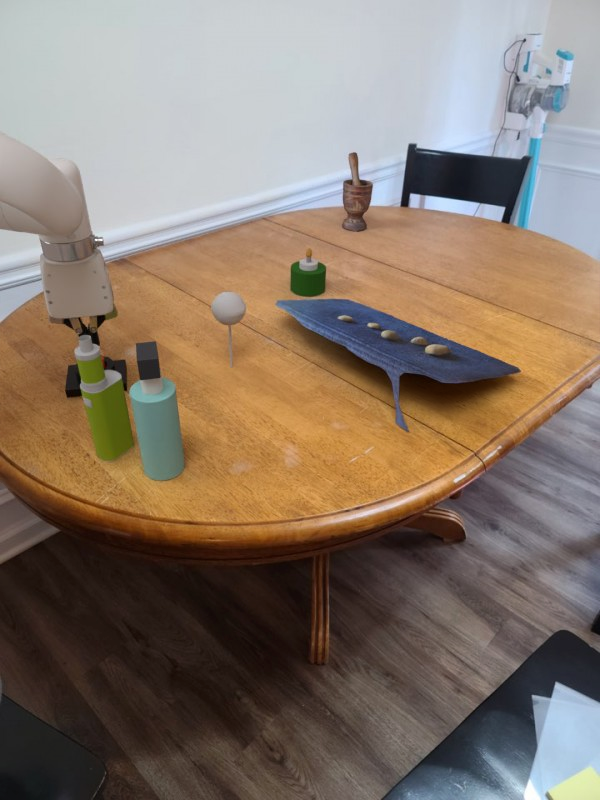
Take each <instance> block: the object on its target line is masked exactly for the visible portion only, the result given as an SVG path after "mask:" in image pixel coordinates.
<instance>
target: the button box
mask: <svg viewBox="0 0 600 800" xmlns="http://www.w3.org/2000/svg"><path fill="white" fill-rule="evenodd" d="M103 356H104V360H105V365H106V366H105V368H104V370H114V371H117V372H119V373H120V374H121V376H122V382H123V387H124V392H127V391H128V367H127V360H126V359H125V358H124V359H116V360H115V359H114V360H113V359H112V358H111V357H109V356H105V355H103ZM80 384H81V376H80V372H79V368H78V364H77V363H76V364H68V365H67V371H66V378H65V385H64V386H65V387H64V392H65V395H66V398H67V399H70V398H78V397H82V392H81V388H80Z"/></svg>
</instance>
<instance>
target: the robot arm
mask: <svg viewBox="0 0 600 800" xmlns="http://www.w3.org/2000/svg"><path fill="white" fill-rule="evenodd" d="M84 190H85V189H84V185H83V179H82V175H81V171H80V169H79V166H78V165H77V163H75V162H74V161H72V160H70V159H67V158H62V157H45V156H44V155H43V154H41V153H40V152H38V151H37V150H35V149H34V148H32V147H31V146H28V145H27V144H25V143H23V142H21V141H20V140H17V139H16V138H14V137H13V136H10V135H8V134H6V133H4V132H2V131H0V230H3V231H8V232H9V231H11V232H17V233H24V234H25V233H26V234H31V235H32V234H33V235H38V238H39V243H40V247H41V250H42V253H41V254H39V255H40V256H39V266H40V267H39V268H40V278H41V285H42V290H43V296H44V302H45V306H46V309H47V313H48V321H49V323H50V324H55V325H64V326H66V327H68V328H69V329H71V330H72V331H74V333H75V334H77V336H78V337H77V338H79V337H80V336H82V335H89V336H91V340H92V344H96V345H98V346H99V347H100V346H101V342H100V337H99V331H98V330H99V328H100V327H101V326H102V325H103V324H104V322H105V321H109V320H112V319H116V318H117V317H118V315H119V311H118V309H117V307H116V305H115V297H114V290H113V285H112V282H111V277H110V274H109V270H108V267H107V264H106V261H105V258H104V255H103V253H102V251H101V249H99V248H100V247H104V246H105V243H104V237H103V236H96V235H95V234H94V233H93V230H92V226H91V219H90V216H89V210H88V205H87V201H86V195H85V191H84ZM86 317H87V318H88V321H89V323H88V324H87V325H86V324H85V323H84V322H83V319H82V318H86Z"/></svg>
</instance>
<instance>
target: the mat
mask: <svg viewBox="0 0 600 800" xmlns="http://www.w3.org/2000/svg"><path fill="white" fill-rule="evenodd" d="M274 305H275V306H276V307H277V308H278V309H281V310H284V311H285V312H286V313H288V314H289V315H291V316H292V317H294V318H295V320H296V321H297V322H298V323H299V324H300V325H302V327H304V328H306V329H308V330H310V331H313V332H314V333H315V334H317V335H320V336H321V337H323V338H325V339H328V340H329V341H330V342H332V343H335V344H338V345H340V346H344V347H346V349H347V350H348V351H350V352H351V353H353V354H354V355H355V356H356V357H357V358H358V357H359V358H360V359H362V360H364V361H365V362H367V363H369V364H372V365H375V366H376V367H378V368H381V369H382V370H383V371H385V372H386V374H387V376H388V378H389V380H390V381H391V386H392V392H393V393H392V394H393V398H394V405H395V425H397V426H399V428H400V427H401V429H403V430H405V431H406V432H407V433H408V434H409V433H411V432H410V431H409V428H408V426H407V423H406V420H405V418H404V415H403V412H402V409H401V406H400V404H399V399H400V398H399V396H400V377H401V376H402V375H404V374H406V373H407V374H415V375H422V376H426V377H429V378H431V379H433V380H435V381H438V382H440V383H444V384H460V383H470V382H476V381H481V380H485V379H486V380H487V379H496V378H501V377H506V376H511V375H515V374H519V373H520V374H521V372H522V370H521V369H520V368H519V366H515V365H513V364H511V363H508V362H506V361H504V360H501V359H500V358H496V357H494V356H491V355H488V354H486V353H485V352H482V351H480V350H478V349H474V348H472V347H469V346H467V345H464V344H461V343H460V342H456V341H454V340H451V339H448V338H447V337H444V336H441V335H439V334H436V333H434V332H431V331H429V330H428V329H425V328H423V327H421V326H417V325H415V324H413V323H411V322H407V321H405V320H403V319H400V318H397V317H395V316H394V315H392V314H389V313H386V312H384V311H381V310H378V309H375V308H373V307H371V306H368V305H366V304H363V303H361V302H358V301H354V300H351V299H348V298H302V299H301V298H299V299H278V300H277V301H276V302H275V304H274Z"/></svg>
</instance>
